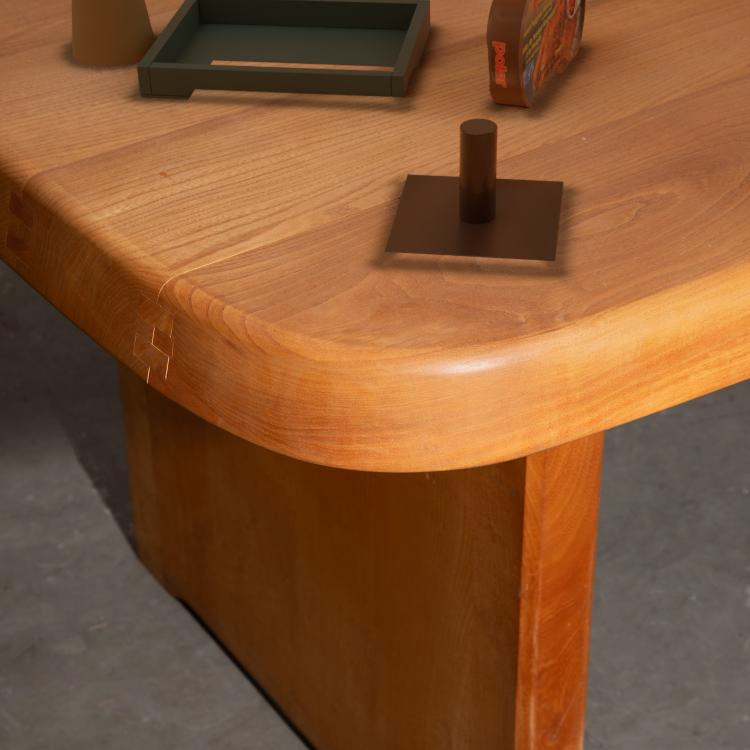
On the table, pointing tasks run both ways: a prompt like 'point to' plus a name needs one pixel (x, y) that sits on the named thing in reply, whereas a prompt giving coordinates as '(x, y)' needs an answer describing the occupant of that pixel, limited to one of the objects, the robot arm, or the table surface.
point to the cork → (110, 31)
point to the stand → (477, 208)
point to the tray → (287, 47)
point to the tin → (530, 45)
